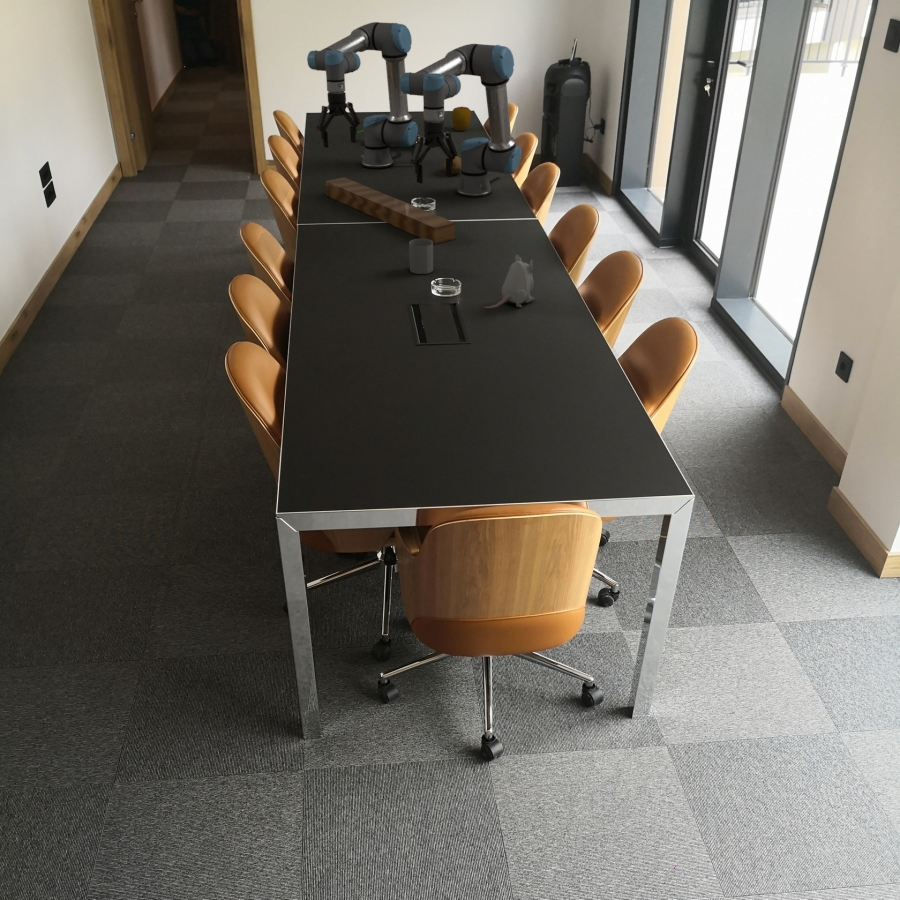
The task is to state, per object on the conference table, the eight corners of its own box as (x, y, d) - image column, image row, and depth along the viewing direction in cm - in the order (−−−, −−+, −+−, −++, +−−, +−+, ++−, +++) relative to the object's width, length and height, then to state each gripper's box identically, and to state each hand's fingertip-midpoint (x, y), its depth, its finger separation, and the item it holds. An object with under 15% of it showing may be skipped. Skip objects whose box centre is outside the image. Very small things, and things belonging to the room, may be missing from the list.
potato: (462, 169, 421) (462, 152, 416) (464, 177, 409) (465, 160, 405) (442, 169, 420) (442, 152, 416) (444, 177, 408) (444, 160, 404)
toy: (541, 300, 285) (543, 256, 277) (494, 322, 270) (495, 276, 262) (519, 293, 290) (521, 249, 282) (472, 313, 276) (473, 269, 268)
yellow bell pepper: (471, 132, 486) (471, 108, 479) (451, 132, 486) (451, 108, 479) (470, 128, 495) (471, 104, 488) (452, 128, 495) (452, 104, 488)
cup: (409, 265, 311) (408, 238, 306) (432, 265, 312) (431, 238, 307) (410, 274, 304) (409, 246, 299) (433, 273, 305) (433, 246, 299)
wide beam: (326, 195, 384) (325, 181, 381) (345, 191, 389) (344, 177, 386) (434, 244, 331) (434, 227, 328) (454, 239, 336) (454, 222, 333)
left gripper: (314, 96, 350) (318, 150, 362) (366, 89, 363) (369, 142, 374) (305, 94, 355) (309, 147, 367) (357, 87, 368) (359, 138, 379)
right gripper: (411, 126, 305) (413, 187, 316) (467, 117, 318) (466, 176, 329) (399, 123, 310) (401, 182, 321) (454, 114, 323) (454, 171, 334)
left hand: (339, 144), depth 370 cm, fingers open, 13 cm apart
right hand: (434, 179), depth 325 cm, fingers open, 13 cm apart
